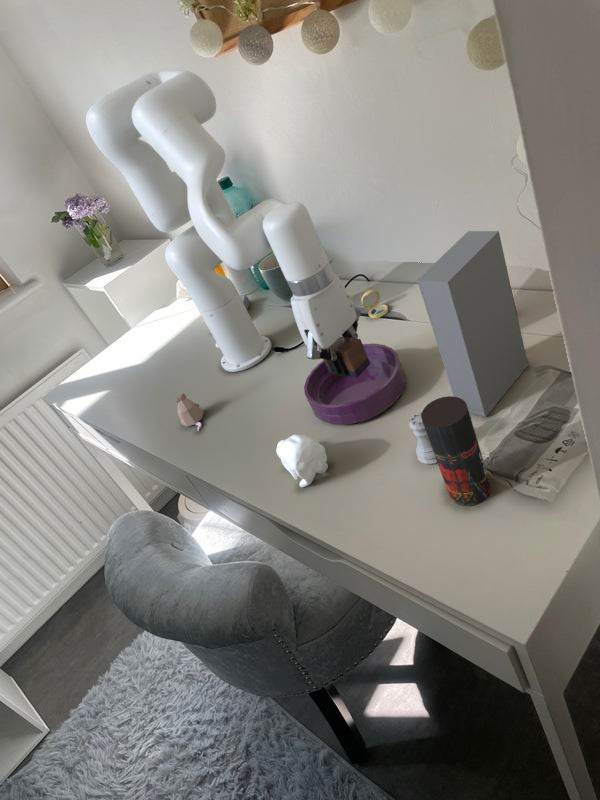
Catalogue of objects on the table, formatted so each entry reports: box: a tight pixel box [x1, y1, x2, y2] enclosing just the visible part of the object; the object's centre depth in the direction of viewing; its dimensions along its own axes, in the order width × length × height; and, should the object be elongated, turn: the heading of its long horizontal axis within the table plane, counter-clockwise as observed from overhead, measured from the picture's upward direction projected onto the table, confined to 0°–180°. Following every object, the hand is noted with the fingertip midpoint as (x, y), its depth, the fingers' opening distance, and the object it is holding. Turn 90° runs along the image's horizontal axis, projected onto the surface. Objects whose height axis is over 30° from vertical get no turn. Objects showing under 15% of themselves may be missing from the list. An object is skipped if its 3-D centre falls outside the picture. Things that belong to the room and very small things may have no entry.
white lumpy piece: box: [275, 434, 329, 488], centre depth 102 cm, size 6×8×12 cm
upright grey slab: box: [416, 230, 530, 418], centre depth 95 cm, size 14×6×25 cm, turn 134°
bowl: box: [303, 343, 407, 426], centre depth 113 cm, size 18×18×5 cm
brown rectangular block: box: [317, 336, 370, 378], centre depth 109 cm, size 7×4×6 cm, turn 46°
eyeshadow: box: [360, 289, 389, 319], centre depth 134 cm, size 4×5×5 cm
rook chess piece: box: [408, 411, 438, 465], centre depth 93 cm, size 4×4×8 cm
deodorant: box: [421, 395, 492, 507], centre depth 83 cm, size 6×6×15 cm
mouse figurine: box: [174, 392, 204, 432], centre depth 128 cm, size 5×8×7 cm, turn 21°
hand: (348, 365), depth 111 cm, fingers closed on brown rectangular block, 4 cm apart
